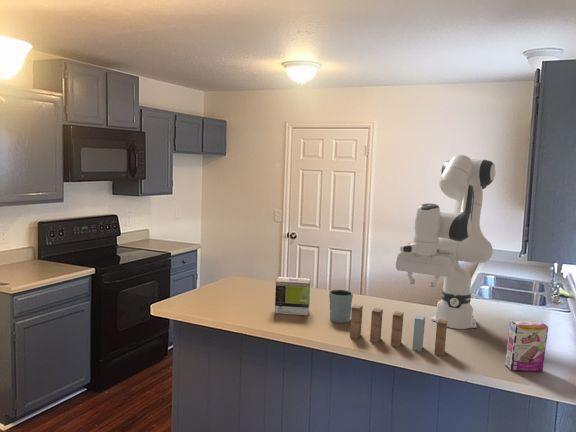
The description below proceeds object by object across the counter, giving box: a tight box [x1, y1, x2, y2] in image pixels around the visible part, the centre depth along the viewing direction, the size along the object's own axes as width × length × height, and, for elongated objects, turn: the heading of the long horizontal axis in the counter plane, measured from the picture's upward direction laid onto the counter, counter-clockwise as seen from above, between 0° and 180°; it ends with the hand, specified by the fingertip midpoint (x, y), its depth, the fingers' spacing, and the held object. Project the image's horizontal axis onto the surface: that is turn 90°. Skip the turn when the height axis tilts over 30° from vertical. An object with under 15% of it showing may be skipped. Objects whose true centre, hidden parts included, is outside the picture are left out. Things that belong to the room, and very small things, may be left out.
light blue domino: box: [411, 314, 426, 352], centre depth 182 cm, size 5×3×12 cm, turn 156°
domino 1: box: [349, 303, 364, 340], centre depth 192 cm, size 5×3×12 cm, turn 156°
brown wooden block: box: [434, 318, 448, 356], centre depth 179 cm, size 5×3×12 cm, turn 156°
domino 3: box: [390, 310, 405, 348], centre depth 185 cm, size 5×3×12 cm, turn 156°
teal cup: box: [328, 289, 354, 324], centre depth 211 cm, size 10×10×12 cm
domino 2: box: [369, 307, 384, 344], centre depth 189 cm, size 5×3×12 cm, turn 156°
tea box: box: [274, 276, 311, 316], centre depth 219 cm, size 15×10×15 cm
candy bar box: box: [504, 320, 549, 373], centre depth 167 cm, size 11×5×16 cm, turn 92°
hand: (422, 285), depth 180 cm, fingers open, 6 cm apart
